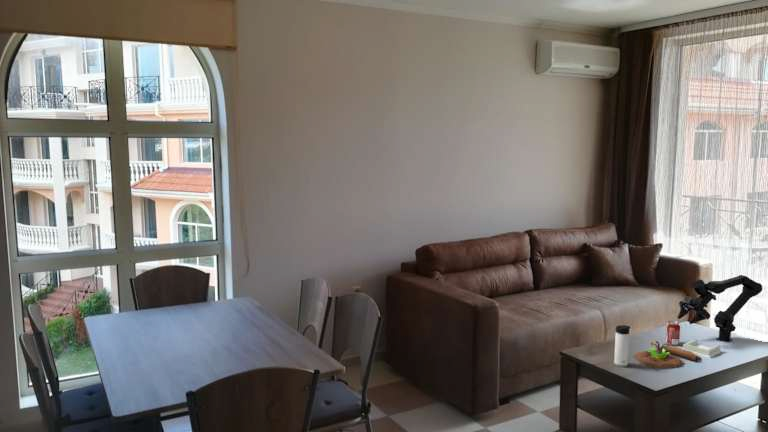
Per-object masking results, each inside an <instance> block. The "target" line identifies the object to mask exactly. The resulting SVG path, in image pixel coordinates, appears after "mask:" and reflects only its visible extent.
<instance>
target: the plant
mask: <svg viewBox="0 0 768 432" xmlns="http://www.w3.org/2000/svg"><path fill="white" fill-rule="evenodd" d="M650 345H651V346H655V347H654V348H653V347H649V350H644V351H639V352H637V353H634V354H635V355H634V358H635V359H636V361H637V362H638V363H640V364H642V365H644V366H646V367H650V368H653V369H656V370H662V369H663V370H664V369H671V368H673V369H677V368H680V367H681V366H682V365H683V360H682V359H681V358H680V357H679V356H678V357H677V355H674V354H670V352H667V353H665V350H664V349H663V347H664V346H667V347H668V348H669V347H670V346H671V345H669V344H667V343H663V344H662V345H660V343H659V341H657V340H655V341H654V342H651V343H650Z"/></svg>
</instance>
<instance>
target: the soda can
mask: <svg viewBox="0 0 768 432" xmlns="http://www.w3.org/2000/svg"><path fill="white" fill-rule="evenodd" d="M680 337H681V325H680V322H678V321H673V320H672V321H671V320H669V321H667V324H666V326H665V344H668V345H669V346H673V347H676V346H678V345H680Z"/></svg>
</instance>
